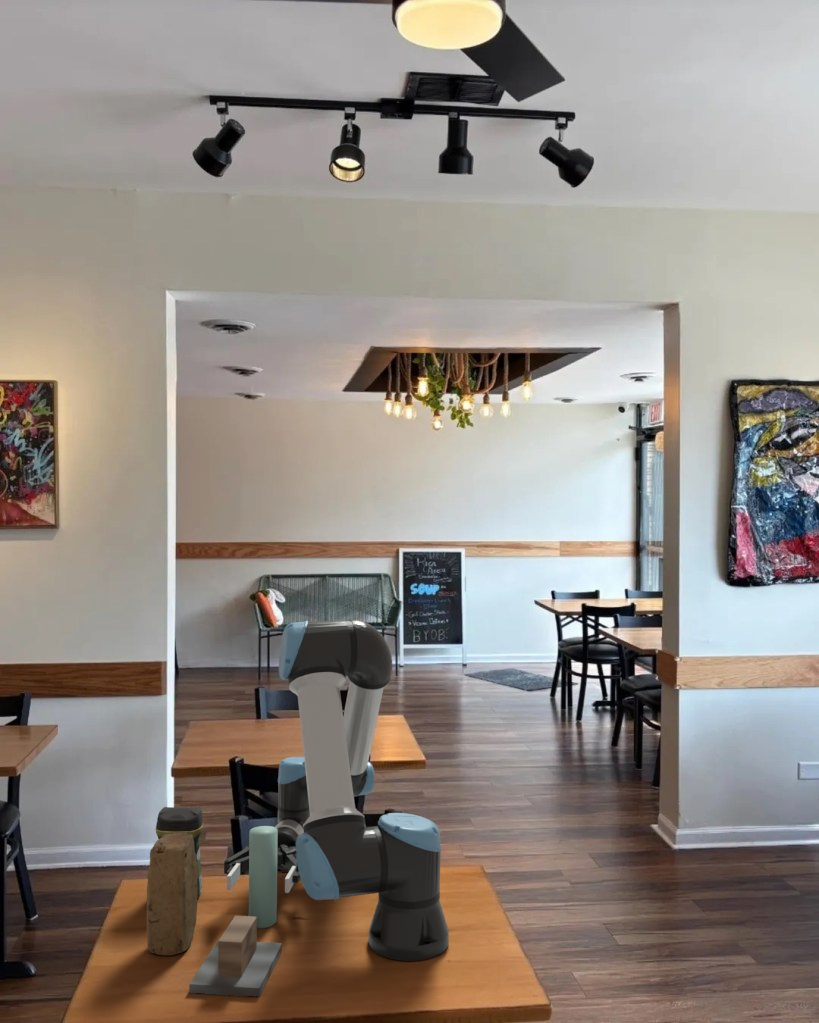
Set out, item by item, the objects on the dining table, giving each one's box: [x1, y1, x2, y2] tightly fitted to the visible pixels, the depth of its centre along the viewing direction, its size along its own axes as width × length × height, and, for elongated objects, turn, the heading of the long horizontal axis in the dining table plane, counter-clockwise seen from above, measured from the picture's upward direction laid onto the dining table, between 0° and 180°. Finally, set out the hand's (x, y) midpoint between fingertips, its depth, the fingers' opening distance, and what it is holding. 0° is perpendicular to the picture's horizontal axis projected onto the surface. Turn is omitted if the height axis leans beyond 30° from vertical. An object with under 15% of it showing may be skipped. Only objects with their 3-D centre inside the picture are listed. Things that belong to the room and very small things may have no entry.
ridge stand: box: [188, 915, 283, 998], centre depth 158 cm, size 16×12×8 cm
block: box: [146, 833, 198, 956], centre depth 168 cm, size 11×8×20 cm
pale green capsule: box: [248, 825, 278, 929], centre depth 178 cm, size 6×6×18 cm
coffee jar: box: [155, 806, 204, 898], centre depth 189 cm, size 10×8×19 cm
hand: (257, 884), depth 174 cm, fingers open, 11 cm apart
